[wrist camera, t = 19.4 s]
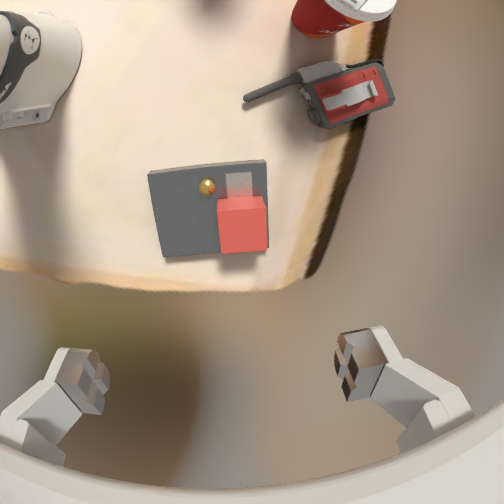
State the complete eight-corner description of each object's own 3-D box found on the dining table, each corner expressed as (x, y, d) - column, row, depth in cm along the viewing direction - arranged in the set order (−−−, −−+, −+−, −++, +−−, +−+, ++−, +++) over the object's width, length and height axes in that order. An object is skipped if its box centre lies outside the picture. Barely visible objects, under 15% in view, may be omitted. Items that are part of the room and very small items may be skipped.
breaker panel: (165, 250, 41) (162, 260, 39) (151, 171, 35) (145, 176, 33) (267, 241, 42) (269, 250, 39) (264, 159, 36) (267, 163, 34)
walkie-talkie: (370, 47, 29) (239, 93, 32) (386, 43, 25) (240, 91, 28) (392, 102, 33) (268, 151, 36) (409, 104, 29) (274, 157, 32)
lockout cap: (221, 238, 39) (221, 253, 35) (217, 199, 36) (216, 211, 32) (263, 235, 39) (267, 250, 35) (261, 195, 36) (266, 207, 33)
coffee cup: (327, 56, 30) (385, 35, 17) (271, 26, 27) (300, -18, 14) (352, 14, 26) (412, -17, 13) (299, -16, 24) (338, -66, 11)
